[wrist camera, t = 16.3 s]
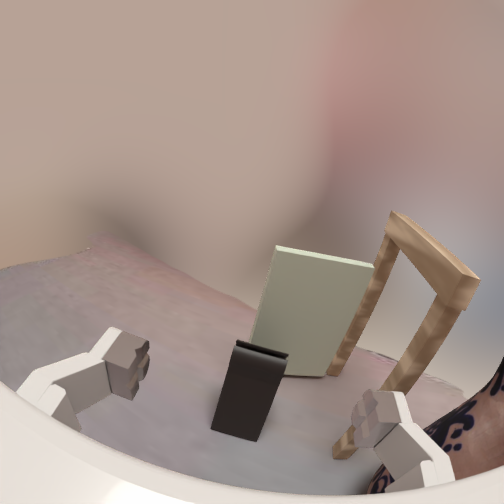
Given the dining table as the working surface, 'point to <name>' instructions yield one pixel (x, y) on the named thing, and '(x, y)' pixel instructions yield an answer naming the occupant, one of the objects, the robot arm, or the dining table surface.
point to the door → (308, 307)
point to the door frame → (436, 321)
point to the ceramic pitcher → (466, 435)
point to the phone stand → (249, 390)
